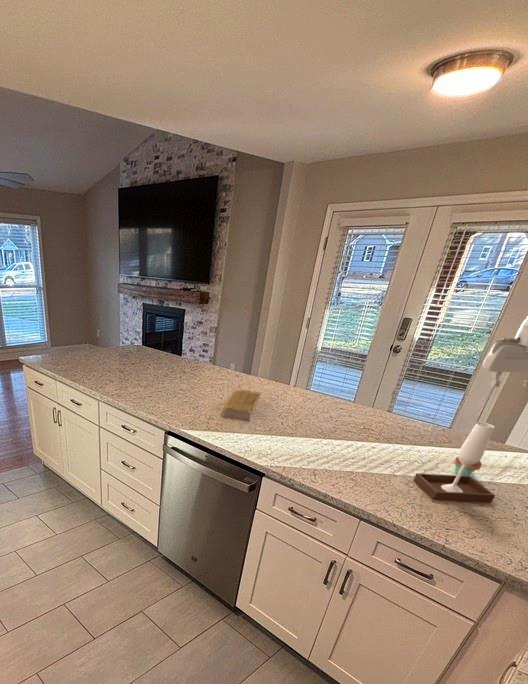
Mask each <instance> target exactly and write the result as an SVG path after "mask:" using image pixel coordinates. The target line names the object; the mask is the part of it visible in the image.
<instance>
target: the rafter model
mask: <svg viewBox="0 0 528 684" xmlns="http://www.w3.org/2000/svg"><path fill="white" fill-rule="evenodd" d="M261 395H262V392H258V391H253V390H248V389H234V390H233V391H232V393H231V394H230V396H229V398H228V400H227V401H226V403H225V404H224V405H223V407H222V411H223V417H228V418H234V419H240V420H246V421H250V420H251V418H252V415H253V413H254V412H255V410H256V406H257V405H258V402H259V399H260V397H261Z"/></svg>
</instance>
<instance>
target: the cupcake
mask: <svg viewBox="0 0 528 684" xmlns="http://www.w3.org/2000/svg"><path fill="white" fill-rule="evenodd" d="M453 464H455V467H454V473H455V474H458V472H459V470H460V469H461V467H462V465H463V464H462V463H461V462H460V460H459V459H458V456H456V457H455V459H454V460H453ZM481 467H482V462H481V460H480V461H479V462H477V463H474V464H471V465H467V466H466V468H465V470H464V471H463V473H462V475H461V476H471V475H472V474H473V473H474V472H475V471H479V470H481Z"/></svg>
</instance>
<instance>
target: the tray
mask: <svg viewBox="0 0 528 684" xmlns="http://www.w3.org/2000/svg"><path fill="white" fill-rule="evenodd" d="M456 476H457V475H456V474H455V475H454V474H451V475H450V474H439V473H438V474H436V473H418V472H417V473H415V476H414V478H413V480H412V481H413V482H414V483H415V484H416V485H417V486H418V487H419V488H420V489H421V490H423V492H424V493H426V495H428V496H429V497H430V498H431V500H433V501H449V502H468V503H483V504H484V503H486V504H491V503H492V502H493V500H494V499H495V497H496V494H494V493H493V492H492V491H491V490H490V489H488V488H487V487H485V486H484V485H483V484H481V483H480V482H479V481H477V480H476V479H475V478H474V477H473V476H471V475H469V476H462V475H461V477H460V479H459V481H458V483H457V486H458V487H459V488H460V489H461V490H462V491H463V493H461V492H447V491H445V490H443V489H442V488H441V486H442V485H446V484H453V482H454V480H455V478H456Z"/></svg>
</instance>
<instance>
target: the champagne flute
mask: <svg viewBox="0 0 528 684" xmlns="http://www.w3.org/2000/svg"><path fill="white" fill-rule="evenodd" d="M494 429H495V426H494V425H493V424H491V423H488V422H483V421H479V422H478V421H477V422H476V424H475V425H474V427H473V428H472V430H471V431H470V433H469V434H468V436H467V438H466V439H465V441H464V442H463V444H462V445H461V447H460V448H459V450H458V451H457V457H458V459H459V460H460V462H461V463H462V464H463V465H462V467H461V469H460V470H459V472H458V474H457V473H456V474H457V476H456V478H455V480H454V482H453V484H446V485H442V486H441V488H442V489H443V490H445V491H447V492H461V493H463V491H462V490H461V489H460V488H459V487H458V486H457V483H458V481H459V479H460V477H461V476H462V473H463V471H464V470H465V468H466V466H467V465H471V464H474V463H477V462H479V461H480V462H481V460H482V458H483V457H484V455H485V454H484V453H485V451H486V449H487V446H488V444H489V441H490V439H491V437H492V434H493V432H494Z"/></svg>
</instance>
